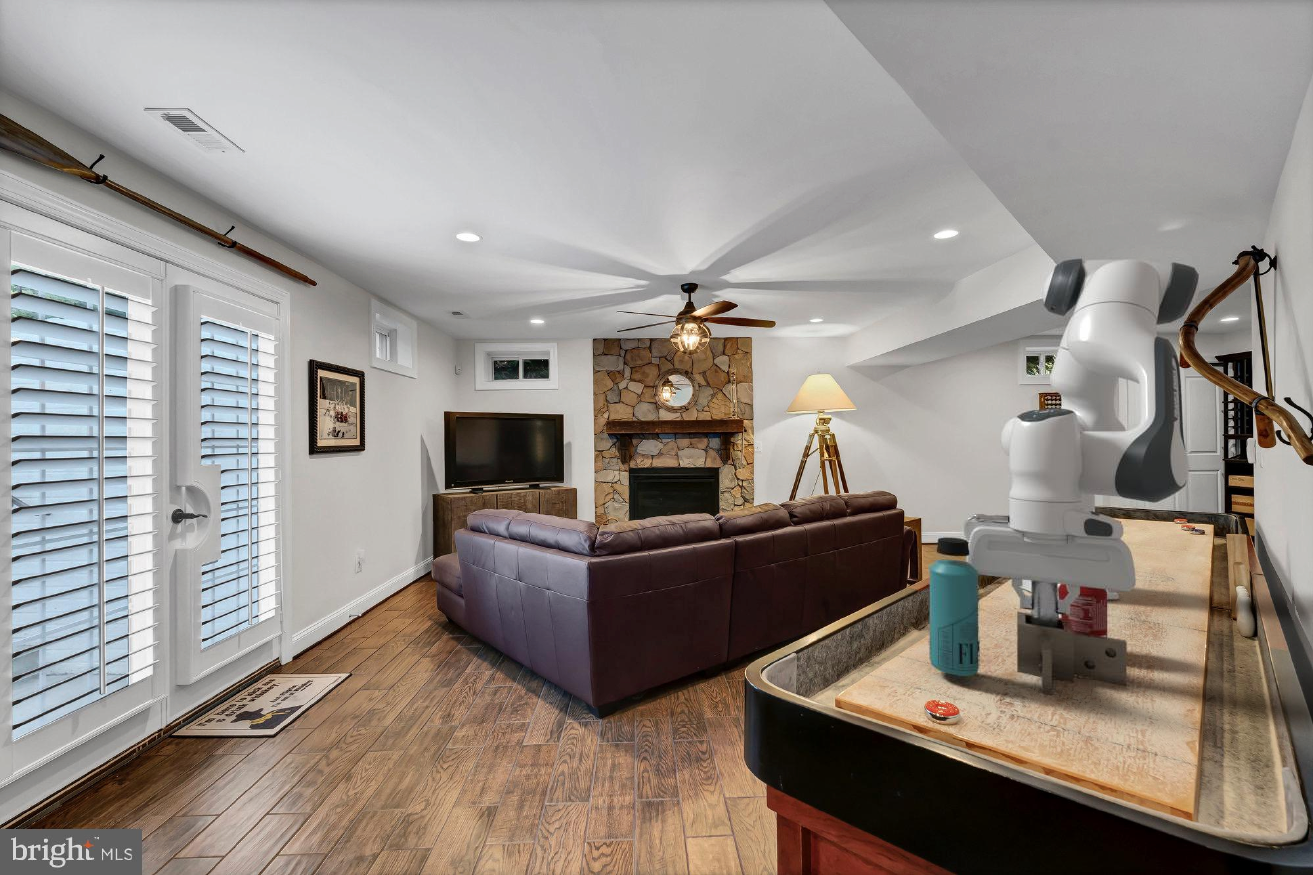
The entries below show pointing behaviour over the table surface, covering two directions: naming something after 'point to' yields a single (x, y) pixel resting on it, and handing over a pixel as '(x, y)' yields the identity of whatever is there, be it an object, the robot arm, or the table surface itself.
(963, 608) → the beverage bottle
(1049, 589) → the pin
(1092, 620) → the soda can
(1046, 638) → the grey metal bracket
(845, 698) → the table surface
